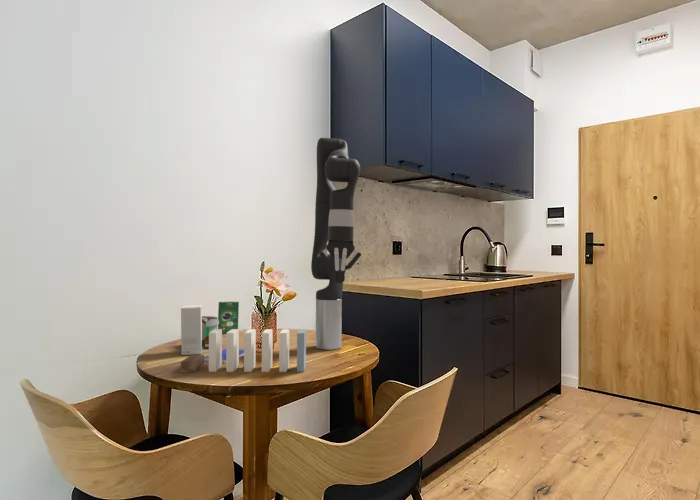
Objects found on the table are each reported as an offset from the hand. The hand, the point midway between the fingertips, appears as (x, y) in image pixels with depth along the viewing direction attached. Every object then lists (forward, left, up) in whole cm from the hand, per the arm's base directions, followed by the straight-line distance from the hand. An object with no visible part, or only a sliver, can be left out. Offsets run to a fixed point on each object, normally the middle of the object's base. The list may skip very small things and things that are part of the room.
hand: (339, 283), depth 130 cm
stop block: (+14, -40, -25) cm, 49 cm away
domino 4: (+9, -19, -25) cm, 33 cm away
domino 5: (+8, -14, -25) cm, 30 cm away
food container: (-14, -53, -25) cm, 60 cm away
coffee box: (-37, -59, -25) cm, 74 cm away
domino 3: (+10, -24, -25) cm, 36 cm away
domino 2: (+11, -29, -25) cm, 40 cm away
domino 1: (+13, -34, -25) cm, 44 cm away
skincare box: (-3, -53, -25) cm, 58 cm away
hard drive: (-1, -39, -26) cm, 46 cm away
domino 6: (+6, -10, -25) cm, 27 cm away
